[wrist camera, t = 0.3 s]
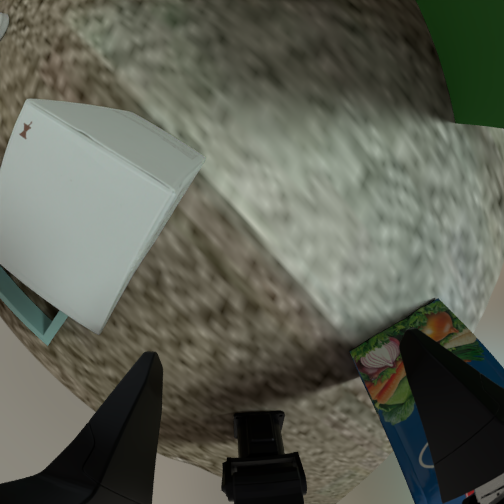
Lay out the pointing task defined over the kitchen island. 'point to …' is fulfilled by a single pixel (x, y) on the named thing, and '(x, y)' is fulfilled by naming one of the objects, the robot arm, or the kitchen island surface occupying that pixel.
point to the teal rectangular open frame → (29, 310)
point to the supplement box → (86, 201)
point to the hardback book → (470, 56)
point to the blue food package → (400, 396)
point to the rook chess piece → (3, 24)
